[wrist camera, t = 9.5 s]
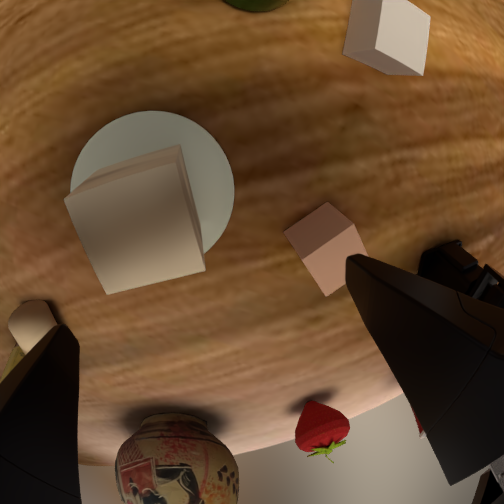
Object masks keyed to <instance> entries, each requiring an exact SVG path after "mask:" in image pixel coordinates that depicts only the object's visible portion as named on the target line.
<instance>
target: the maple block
mask: <svg viewBox="0 0 504 504" xmlns="http://www.w3.org/2000/svg"><path fill="white" fill-rule="evenodd" d="M64 202H65V204H66V207H67V210H68V212H69V215H70V217H71V220H72V222H73V225H74V227H75V229H76V232H77V234H78V236H79V239H80V241H81V243H82V245H83V248H84V250H85V252H86V254H87V256H88V258H89V260H90V262H91V265H92V267H93V269H94V271H95V273H96V275H97V277H98V279H99V281H100V282H101V284H102V286H103V288H104V290H105V292H106V294H107V295H108V294H112V293H116V292H120V291H124V290H129V289H133V288H137V287H141V286H145V285H149V284H153V283H158V282H162V281H166V280H170V279H174V278H178V277H182V276H186V275H190V274H194V273H198V272H203V271H206V269H205V260H204V252H203V243H202V233H201V224H200V220H199V217H198V213H197V209H196V205H195V201H194V198H193V194H192V190H191V186H190V182H189V178H188V174H187V170H186V166H185V161H184V157H183V153H182V149H181V145H180V144H178V145H174V146H171V147H167V148H164V149H160V150H156V151H153V152H150V153H146V154H143V155H140V156H137V157H133V158H130V159H127V160H124V161H121V162H118V163H115V164H112V165H109V166H107V167H104V168H101V169H98V170H97V171H95V172H94V173H93V174H92V175H90V176H89V177H88V178H87V179H86V180H85V181H83V182H82V183H81V184H80V185H79V186H78V187H77V188H75V189H74V190H73V191H72V192H71V193H70V194H69V195H68V196H67V197H65V198H64Z"/></svg>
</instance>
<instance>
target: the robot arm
mask: <svg viewBox="0 0 504 504" xmlns="http://www.w3.org/2000/svg"><path fill="white" fill-rule="evenodd" d="M461 246H462V242H461V241H460V240H457V241H454V242H451V243H448V244H446V245H443V246H440V247H438V248H435V249H432V250H429V251H426V252H425V253H424V254H423V255H422V259H421V264H420V269H419V273H418V275H415V274H413V273H410V272H408V271H405V270H402V269H400V268H397V267H395V266H392V265H389V264H387V263H384V262H381V261H379V260H376V259H373V258H371V257H368V256H365V255H363V254H360V253H357V254H354V255H350V256H348V257H347V258H346V263H345V282H346V285H347V288H348V290H349V292H350V294H351V296H352V298H353V300H354V302H355V305H356V307H357V309H358V311H359V313H360V315H361V318H362V320H363V322H364V324H365V326H366V328H367V329H368V331H369V333H370V334H371V336H372V338H373V339H374V341H375V343H376V345H377V346H378V348H379V350H380V351H381V353H382V355H383V356H384V358H385V360H386V362H387V363H388V365H389V367H390V369H391V370H392V372H393V374H394V376H395V378H396V379H397V381H398V383H399V385H400V387H401V388H402V390H403V392H404V394H405V396H406V398H407V399H408V401H409V403H410V405H411V407H412V409H413V411H414V413H415V414H416V416H417V418H418V420H419V422H420V424H421V426H422V428H423V430H424V432H425V434H426V436H427V438H428V440H429V442H430V444H431V447H432V449H433V451H434V453H435V455H436V457H437V459H438V461H439V463H440V465H441V468H442V470H443V472H444V474H445V476H446V479H447V481H448V483H449V484H450V486H452V485H454V484H456V483H458V482H459V481H461V480H463V479H465V478H467V477H469V476H471V475H472V474H474V473H476V472H478V471H479V470H481V469H483V468H484V467H486V466H487V465H489V467H490V469H488V470H487V471H486V472H485V473H483V474H482V475H481V477H480V480H479V484H478V487H477V490H476V493H475V496H474V499H473V502H472V504H504V276H502V275H501V274H500V273H499V272H498V271H496V270H495V269H493V268H492V267H490V266H489V265H487V264H485V266H484V267H483V268H484V269H483V268H481V267H480V266H479V265H478V260H477V259H476V258H474V257H473V256H472V255H471V254H469V253H468V252H467V251H465V250H464V249H463V248H462V247H461ZM497 282H499V284H498V285H497ZM79 355H80V346H79V342H78V340H77V339H76V338H75V336H74V335H73V333H72V332H71V331H70V329H69V328H68V326H67V325H65V324H59V325H55V326H53V327H52V328H51V329H50V330H49V331H48V332H47V333H46V334H45V335H44V336H43V337H42V338H41V339H40V340H39V341H38V343H37V344H36V345H35V346H34V347H33V348H32V349H31V350H30V351H29V352H28V353H27V354H26V355H25V356H24V357H23V358H22V359H21V360H20V362H19V363H18V364H17V365H16V366H15V367H14V368H13V369H12V370H11V371H10V373H9V374H8V375H7V376H6V377H5V378H4V379H3V381H2V382H1V383H0V504H82V501H81V494H80V484H79V471H78V439H77V433H78V401H79Z"/></svg>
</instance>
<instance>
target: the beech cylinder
mask: <svg viewBox="0 0 504 504" xmlns="http://www.w3.org/2000/svg"><path fill="white" fill-rule="evenodd" d="M55 325H57V323H56V321H55V319H54V317H53V315H52V313H51V311H50V309H49V307H48V305H47V303H46V302H45V301H43V300H31V301H28V302H26V303H24V304H22V305H20V306H19V307H18V308H17V309H16V310H15V311H14V312H13V313H12V314H11V316H10V318H9V321H8V327H9V330H10V331H11V333H12V335H13V336H14V338H15V340H16V341H17V343H18V344H19V346H20V347H21V349H22V351H23V352H24V354H25V355H26V354H27V353H28V352H29V351H30V350H31V349H32V348H33V347H34V346H35V345H36V344H37V343H38V341H39V340H40V339H41V338H42V337H43V336H44V335H45V334H46V333H47V332H48V331H49V330H50V329H51V328H52V327H53V326H55Z"/></svg>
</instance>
